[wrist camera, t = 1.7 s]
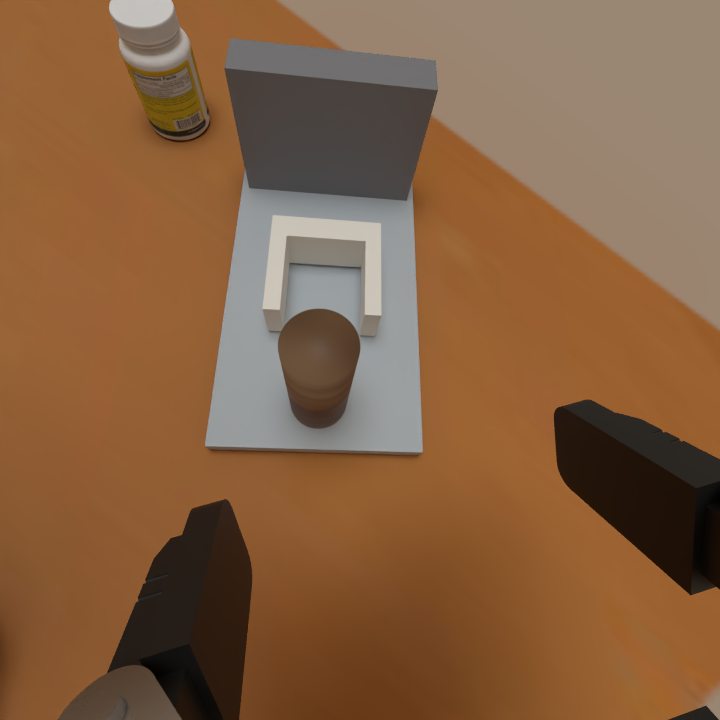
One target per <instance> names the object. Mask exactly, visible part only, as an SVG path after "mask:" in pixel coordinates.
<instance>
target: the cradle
mask: <svg viewBox="0 0 720 720" xmlns="http://www.w3.org/2000/svg"><path fill="white" fill-rule="evenodd" d="M289 263H302V264H317V265H333V266H348V267H361V300H360V335H364V336H375V334H376V331H377V328H378V325H379V322H380V319H381V223H372V222H359V221H346V220H333V219H319V218H306V217H293V216H280V215H273V216H272V225H271V235H270V244H269V253H268V262H267V271H266V280H265V290H264V299H263V308H262V309H263V313H264V317H265V321H266V325H267V328H268V330H269V331H282V329H283V327H284V321H285V309H286V298H287V286H288V275H289Z"/></svg>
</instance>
